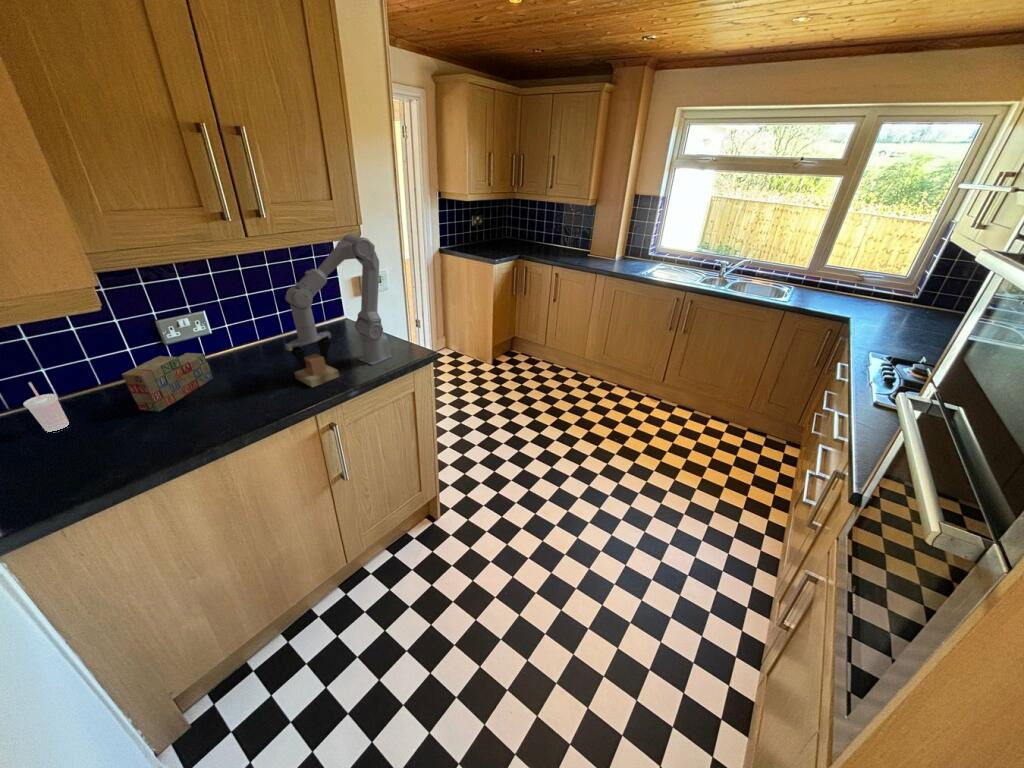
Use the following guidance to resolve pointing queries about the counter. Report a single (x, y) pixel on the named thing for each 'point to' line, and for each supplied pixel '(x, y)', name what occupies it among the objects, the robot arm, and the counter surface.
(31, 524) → the counter surface
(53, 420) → the beverage cup
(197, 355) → the stack of blocks
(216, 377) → the counter surface
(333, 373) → the oak block
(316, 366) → the brown cube
